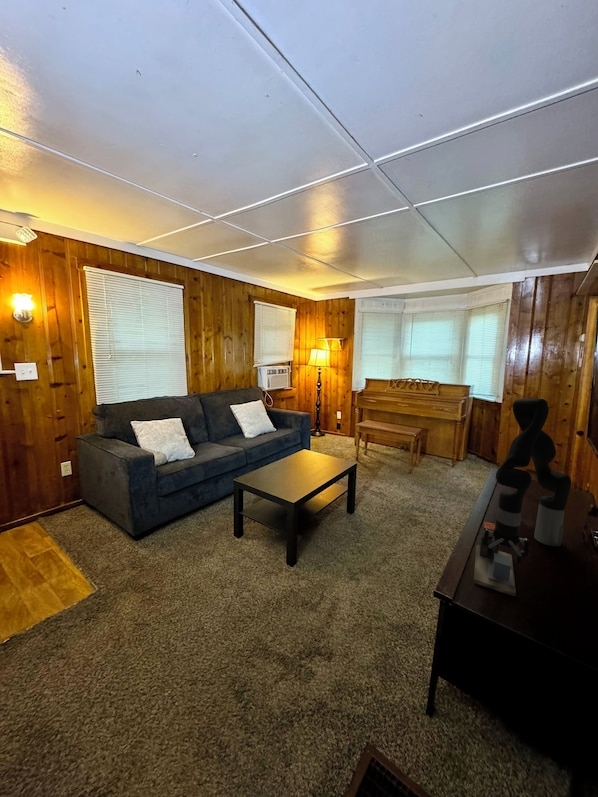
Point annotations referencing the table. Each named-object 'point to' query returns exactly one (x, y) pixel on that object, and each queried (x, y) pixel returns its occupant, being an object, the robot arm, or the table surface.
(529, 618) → the table surface
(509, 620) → the table surface
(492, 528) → the block
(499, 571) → the block
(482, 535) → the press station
